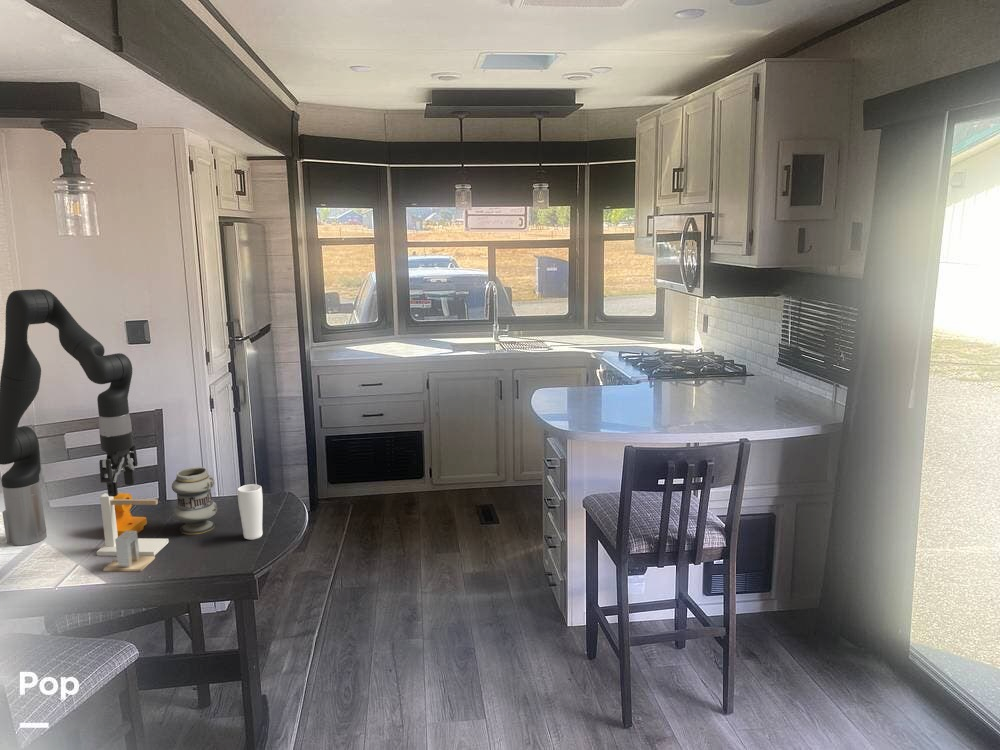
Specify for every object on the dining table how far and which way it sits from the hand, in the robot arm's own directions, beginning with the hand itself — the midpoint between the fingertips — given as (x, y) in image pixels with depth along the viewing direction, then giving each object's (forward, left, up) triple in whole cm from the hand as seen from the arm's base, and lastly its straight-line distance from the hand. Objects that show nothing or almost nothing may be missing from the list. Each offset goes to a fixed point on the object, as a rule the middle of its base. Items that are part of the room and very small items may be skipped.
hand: (121, 490), depth 203 cm
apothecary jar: (+8, +25, -21) cm, 34 cm away
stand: (-4, +10, -21) cm, 24 cm away
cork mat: (0, 0, -21) cm, 21 cm away
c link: (0, 0, -21) cm, 21 cm away
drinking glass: (+27, +19, -21) cm, 39 cm away
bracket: (-12, +22, -22) cm, 33 cm away
